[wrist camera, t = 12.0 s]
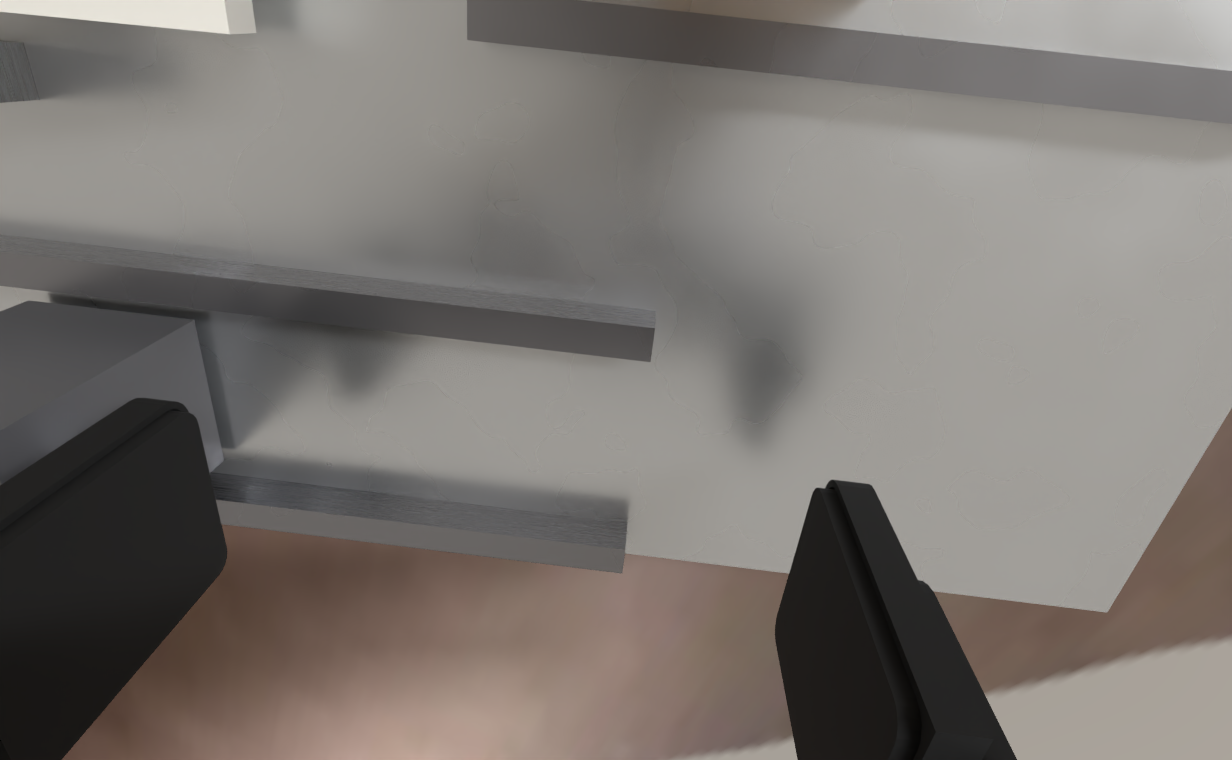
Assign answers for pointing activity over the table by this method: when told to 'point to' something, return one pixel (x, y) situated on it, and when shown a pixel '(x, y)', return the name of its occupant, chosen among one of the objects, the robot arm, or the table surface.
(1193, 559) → the table surface
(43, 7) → the plate
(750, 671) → the table surface
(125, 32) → the panel
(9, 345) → the fader knob
